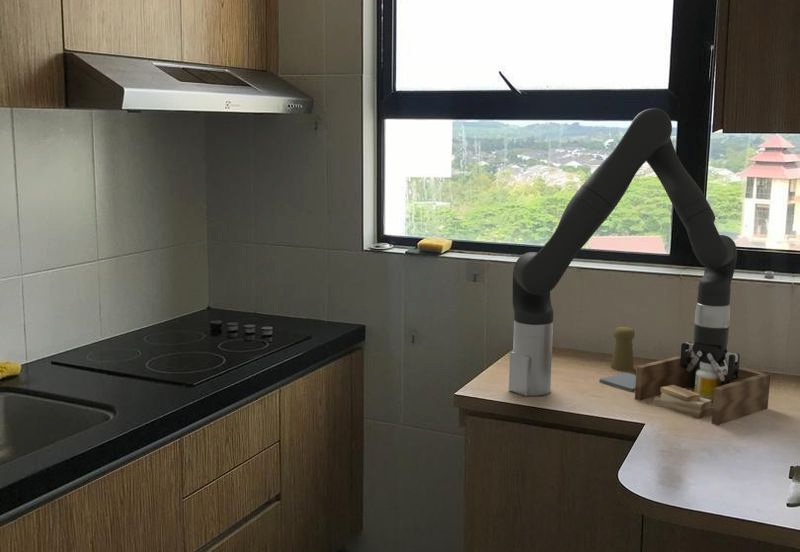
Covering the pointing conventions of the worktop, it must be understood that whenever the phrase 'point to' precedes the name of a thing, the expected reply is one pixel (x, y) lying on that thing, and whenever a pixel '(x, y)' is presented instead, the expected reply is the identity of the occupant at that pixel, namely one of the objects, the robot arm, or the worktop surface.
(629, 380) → the slate mat
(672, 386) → the offcut stack
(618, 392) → the worktop surface
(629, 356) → the cork
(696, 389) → the supplement bottle
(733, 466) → the worktop surface
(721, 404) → the walnut open frame
